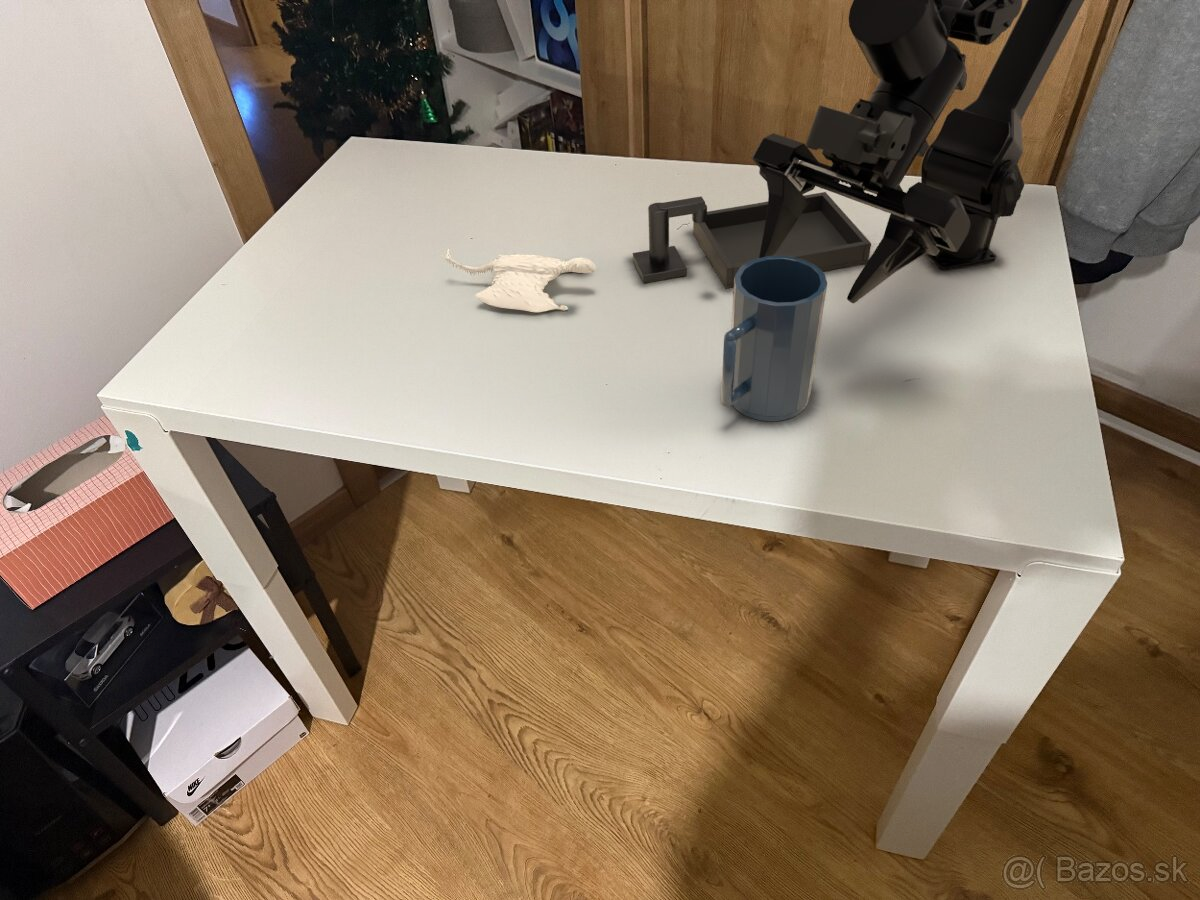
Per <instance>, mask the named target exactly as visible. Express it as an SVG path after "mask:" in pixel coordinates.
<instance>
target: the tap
mask: <svg viewBox="0 0 1200 900" xmlns="http://www.w3.org/2000/svg"><path fill="white" fill-rule="evenodd" d="M647 211H648V213H647V214H648V217H647V218H648V245H649V246H648V250H642V251H635V252H633V253H632V261H633V264H634V266H635V268H636V270H637V272H638V275H639V276H640V278H641V281H642V283H643V284H646V283H653V282H659V281H663V280H664V281H665V280H669V279H670V280H671V279H676V278H681V277H687V275H688V267H687V266H686V264H685V262H684V260H683V258H682V256H681V255H680V253H679V251H678V250H677V247H676V246H675V245H671V246H670V218H671V219H672V218H677V217H682V216H688V215H691V220H692V222H695V223H703V222H705V221H706V220H707V212H708V205H707V204H706V201H705V199H704V198H703V196H695V197H694V196H693V197H688V198H683V199H677V200H676V199H675V200H670V201H664V202H653V203H651V204H650V205H649V206H648V208H647Z"/></svg>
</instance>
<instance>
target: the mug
mask: <svg viewBox="0 0 1200 900" xmlns="http://www.w3.org/2000/svg"><path fill="white" fill-rule="evenodd" d="M827 288H828V281H827V278H826V274H825V272H824V271H821V270H820V269H819V268H818V267H817V266H816V265H814V264H812V263H810V262H808V261H805V260H803V259H800V258H795V257H789V256H767V257H762V258H758V259H755V260H751V261H749V262H748V263H746V264H745V265H743V266H742V267H740V268H739V270H738V272H737V273H736V275H735V277H734V287H733V295H732V312H731V328H730V329H729V330H728V331H727V332H725V334H724V336H723V354H722V371H721V391H720V404H721V405H722V406H723V407H725V408H728V407H731V406H732V407H733V408H734V409H735V410H736V411H737V412H739V413H740V414H742V415H744V416H745V417H747V418H750V419H753V420H756V421H762V422H780V421H786V420H789V419H791V418H794V417H796V416H798V415H799V414H801V413H802V412H803V411H804V410H805V409H806V408H807V406H808V404H809V400H810V396H811V393H812V386H813V381H814V380H813V379H814V373H815V366H816V360H817V353H818V347H819V340H820V334H821V327H822V321H823V314H824V307H825V301H826V294H827Z"/></svg>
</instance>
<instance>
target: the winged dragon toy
mask: <svg viewBox="0 0 1200 900" xmlns="http://www.w3.org/2000/svg"><path fill="white" fill-rule="evenodd" d="M439 254H440V253H439ZM440 256H441V257H442V259H444V260H445V261H447V262H448V263H449V264H452V267H453V268H456V269H458V268H459V270H462V271H463V272H465V273H469V275H470V276H472V274H473V275H474V276H477V275H478V276H479V275H481V274H486V272H488V271H491V273H493V271H494V276H493V277H492V278H491V279H492V280H491V282H492V283H491V285H490V286H487V288H485V289H483V290H481V291H479V292H476V293H475V298H477V299H478V300H480V302H483V303H484V304H486V305H489V306H491V307H496V308H500V309H501V308H503V309H509V310H518V311H519V310H520V311H526V312H531V313H542V312H547V311H553V310H559V311H568V310H569V309H570V308H569V307H568V306H566V305H565V304H560V305H559V306H558V305H557V304H556V302H555V300H554V299H552V298H550V296H549V293H546V292H543V291H544V289H545V287H546V285H549V283H548V282H550V281H552V280H555V279H557V278H558V277H559V276H560V275H561V274H563V273H570V272H572V273H577V274H591V273H593V272H594V271H595V270H596V266H595V264H594V262H592V260H591V259H588V258H586V257H580V256H576V257H574V258H573V257H572V258H571V259H570V260H562V259H559V258H558V257H550V256H541V255H539V254H534V255H533V254H529V253H527V254H517V253H514V254H513V255H511V254H498V255H497V256H498V258H496V259H492V260H491V261H489V262H488V263H486V264H484V265H482V266H471V265H470V266H469V265H466V264H463V263H460V262H458V261H456V260H454V259H452V254H450V249H447V251H446V253H445V256H444V255H442V254H440Z"/></svg>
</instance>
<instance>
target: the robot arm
mask: <svg viewBox="0 0 1200 900" xmlns="http://www.w3.org/2000/svg"><path fill="white" fill-rule="evenodd" d="M1085 1H1086V0H1026V2H1025V4H1024V6H1023V0H852V3H851V5H850V8H849V12H848V13H849V14H848V27H849V29H850V31H851V34H852V36H853V38H854V39H855V41H856V43H857V45H858V47H859V49H860V51H861V52H862V55H863V56H864V59H865V60H866V62H867V64H868V65H869V67H870V69H871V71H872V73H873V74H874V75H875V77H877V79H879V81H878V83H877V84H876V86H875V88H874V90H873V91H872V94H871V95H870V97H869V98H868V100H866V99H863V98H859V100H858V101H857V102H856V103H855V104H854V106H853V107H852V109H851V111H850V113H849V112H845V111H842V110H838V109H835V108H831V107H827V106H824V105H820V104H819V106H818V108H817V111H816V114H815V117H814V119H813V122H812V125H811V128H810V130H809V134H808V136H807V138H806V142H805V143H804V142H802V141H798V140H796V139H795V140H794V139H792V138H789V137H787V136H783V135H780V134H777V133H774V132H772V133H770V134H769V135H767V136H764V137H763V138H762V139H761V140H760V141H759V142H758V144H757V145H756V148H755V149H754V152H753V153H752V155H751V157H750V159H751V160H752V161H753V162H754V164H755V165H756V166H757V167H758V168H759V169H758V170H759V172H758V174H759V175H760V176H761V178H762V179H763V180H764V181H765V182H766V185H767V186H766V187H767V191H768V193H767V194H768V198H767V202H768V210H767V217H766V222H765V228H764V233H763V238H762V244H761V249H760V255H759V258H762V257H767V256H774V254H775V253H776V252H777V251H778V249H779V248H780V246H781V244H782V243H783V241H784V240H785V238H786V237H787V235H788V234H789V232H790V231H791V229H792V228H793V226H794V225H795V223H796V221H797V220H798V218H799V217H800V215H801V214H802V212H803V211H804V209H805V208H806V206H807V205H808V203H809V201H808V200H807V199H806V198H805V197H804V195H806V193H809V192H811V191H813V190H815V188H816V187H817V188H820V189H823V190H825V191H828V192H831V193H833V194H836V195H839V196H842V197H844V198H847V199H849V200H852V201H856V202H858V203H861V204H864V205H866V206H869V207H871V208H874V209H877V210H880V211H883V212H885V213H888V214H889V216H888V219H887V224H886V227H885V230H884V233H883V236H882V238H881V240H880V242H879V243H878V244H877V246H876V248H875V249H874V251H873V253H872V254H871V255H870V256H869V259H868V262H867V263H866V264H864V266H863V267H862V270H861V271H860V273H859V274H858V275H857V277H856V279H855V280H854V282H853V284H852V285H851V288H850V290H849V292H848V294H847V297H846V300H847V301H848V302H849V303H851V304H855V303H857V302H859V300H861V299H862V298H864V297H865V296H866V295H867V294H868V293H870V292H871V291H873V290H874V289H876V287H878V286H879V285H880V284H883V282H885V281H886V280H887V279H888V278H890V277H891V276H893V275H894V274H896V272H898V271H900V270H902V269H903V268H905V267H907V266H908V265H910V264H912V263H914V262H915V261H916V260H918V259H920V258H921V257H923V256H927V258H929V260H930V261H931V262H932V263H933V264H934V265H935V266H936V267H937V268H938V269H940V270H941V271H949V270H954V269H961V268H965V267H971V266H977V265H982V264H987V263H993V262H996V260H997V255H996V254H995V253H994V251H992V250H991V249H990V246H991V243H992V240H993V236H994V233H995V229H996V226H997V224H998V220H999V219H1000V218H1004V217H1005V218H1006V217H1012V216H1013V215H1014V212H1015V209H1016V207H1017V203H1018V202H1019V200H1020V199H1021V197H1022V193H1023V191H1024V187H1025V182H1024V178H1023V176H1022V173H1021V171H1020V167H1019V165H1018V164H1019V161H1020V159H1021V157H1022V155H1023V152H1024V145H1023V127H1022V120H1023V119H1024V116H1025V114H1026V112H1027V110H1028V108H1029V106H1030V104H1031V102H1032V101H1033V98H1034V97H1035V95H1036V93H1037V91H1038V89H1039V88H1040V85H1041V84H1042V82H1043V80H1044V78H1045V76H1046V74H1047V72H1048V71H1049V68H1050V67H1051V65H1052V63H1053V61H1054V59H1055V57H1056V56H1057V53H1058V51H1059V49H1060V48H1061V46H1062V44H1063V42H1064V41H1065V39H1066V36H1067V34H1068V33H1069V30H1071V27H1072V25H1073V23H1074V22H1075V19H1076V17H1077V16H1078V14H1079V12H1080V10H1081V8H1082V6H1083V4H1084V2H1085ZM1022 6H1023V8H1022ZM1021 9H1022V10H1021ZM1018 15H1019V16H1018ZM1016 18H1017V20H1016V22H1015V24H1014V26H1013V28H1012V30H1011V31H1010V33H1009V35H1008V37H1007V39H1006V41H1005V43H1004V45H1003V47H1002V49H1001V51H1000V53H999V54H998V55H999V56H998V57H997V59H996V61H995V63H994V65H993V67H992V69H991V71H990V73H989V75H988V77H987V78H986V81H985V82H984V84H983V86H982V88H981V90H980V93H979V94H978V96H977V98H976V99H975V100H974V101H973V102H971V103H970V104H968V105H967V106H966V107H964V108H963V109H961V108H958V107H954V108H953V109H952V110H951V111H950V112H949V113H948V114H947V115H946V117H945V120H944V121H943V123H942V126H941V128H940V131H939V133H938V134H937V136H936V138H935V139H934V141H933V142H932V143H931V144H930V145H929V143H928V141H927V138H928V137H929V135H930V133H931V132H932V130H933V128H934V126H935V124H936V123H937V122H938V119H939V118H940V116H941V115H942V113H943V111H944V109H945V108H946V105H947V104H948V102H949V101H950V100H951V97H952V96H953V94H954V92H955V90H957V91H963V90H964V89H965V88H966V86H967V80H968V74H967V67H966V59H967V55H966V54H965V53H961V50H960V49H959V47H958V46H957V45H956V44H955V42H953V41H951V40H950V39H953V40H958V41H962V42H967V43H972V44H975V45H981V46H982V45H984V46H988V45H991V44H992V43H994V42H995V41H996V40H997V39H998V38H999V37H1000V36H1001V35H1002V34H1003V33H1004V32H1006V31H1007V30H1008V29H1009V28H1010V27H1011V26H1012V24H1013V23H1014V21H1015V19H1016ZM811 150H813V151H818V150H822V152H821V154H822V156H824V158H825V159H826V161H827V160H828V161H831V163H832V164H831V165H828V164H826V163H822V162H820V161H819V160H818V159H817V158H816V156H815V155H814V153H812V152H811ZM917 156H918V157H921V158H923V159H922V162H921V167H920V168H921V174H920V180H921V181H918V182H916V183H915V184H913V185H911V186H910V187H909V188H908V189H907V191H904V190H903V188H902V187H901V183H902V181H903V179H904V178H905V176H906V175H907V173H908V171H909V169H910V167H911V165H912V164H913V163H914V160H915V159H916V157H917ZM840 182H841V183H840Z"/></svg>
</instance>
